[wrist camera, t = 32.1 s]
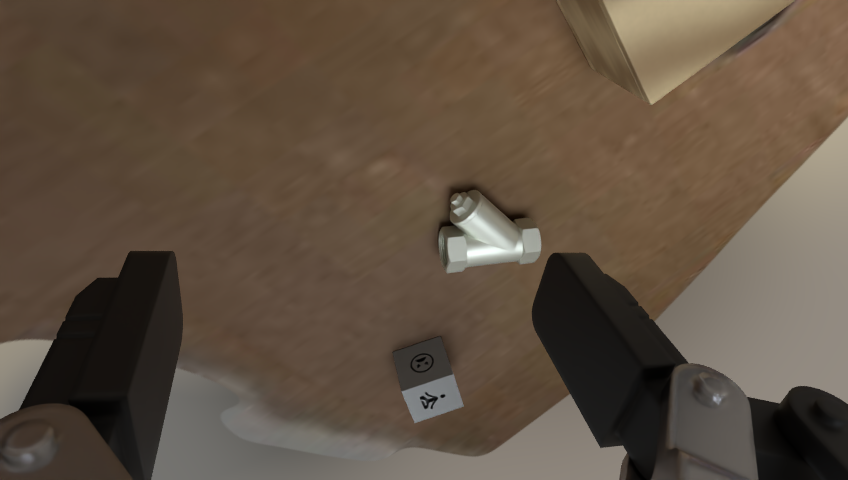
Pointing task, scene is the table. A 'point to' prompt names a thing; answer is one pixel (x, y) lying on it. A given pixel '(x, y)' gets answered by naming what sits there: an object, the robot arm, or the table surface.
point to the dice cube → (427, 379)
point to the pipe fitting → (485, 235)
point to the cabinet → (660, 37)
